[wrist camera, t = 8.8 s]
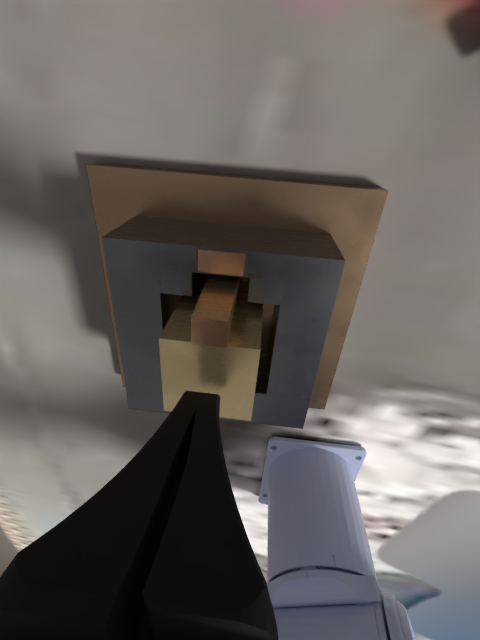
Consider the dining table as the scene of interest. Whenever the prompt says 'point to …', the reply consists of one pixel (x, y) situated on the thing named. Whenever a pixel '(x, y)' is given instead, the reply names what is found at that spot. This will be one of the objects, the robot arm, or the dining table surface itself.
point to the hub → (235, 271)
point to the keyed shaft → (213, 345)
